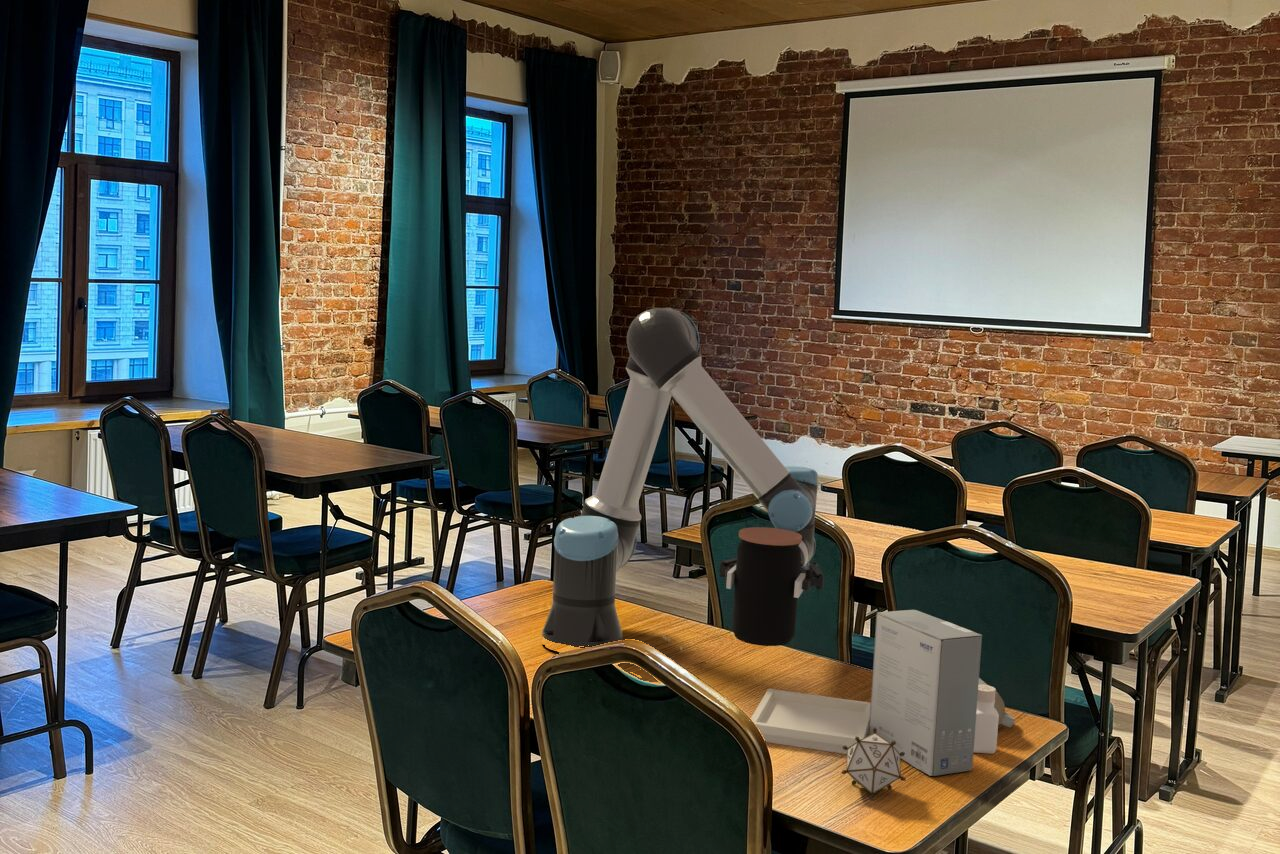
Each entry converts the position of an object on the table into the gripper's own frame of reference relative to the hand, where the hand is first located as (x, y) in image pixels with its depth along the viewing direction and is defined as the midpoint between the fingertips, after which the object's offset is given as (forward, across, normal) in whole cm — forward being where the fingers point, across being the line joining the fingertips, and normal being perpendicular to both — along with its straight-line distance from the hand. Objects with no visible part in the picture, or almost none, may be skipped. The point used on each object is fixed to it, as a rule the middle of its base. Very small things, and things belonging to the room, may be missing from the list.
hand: (762, 585), depth 192 cm
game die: (+32, -22, -19) cm, 43 cm away
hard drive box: (+16, -28, -19) cm, 37 cm away
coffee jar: (-4, 0, -10) cm, 11 cm away
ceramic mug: (-1, -36, -19) cm, 41 cm away
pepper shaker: (+10, -36, -18) cm, 42 cm away
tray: (+11, -11, -19) cm, 25 cm away
